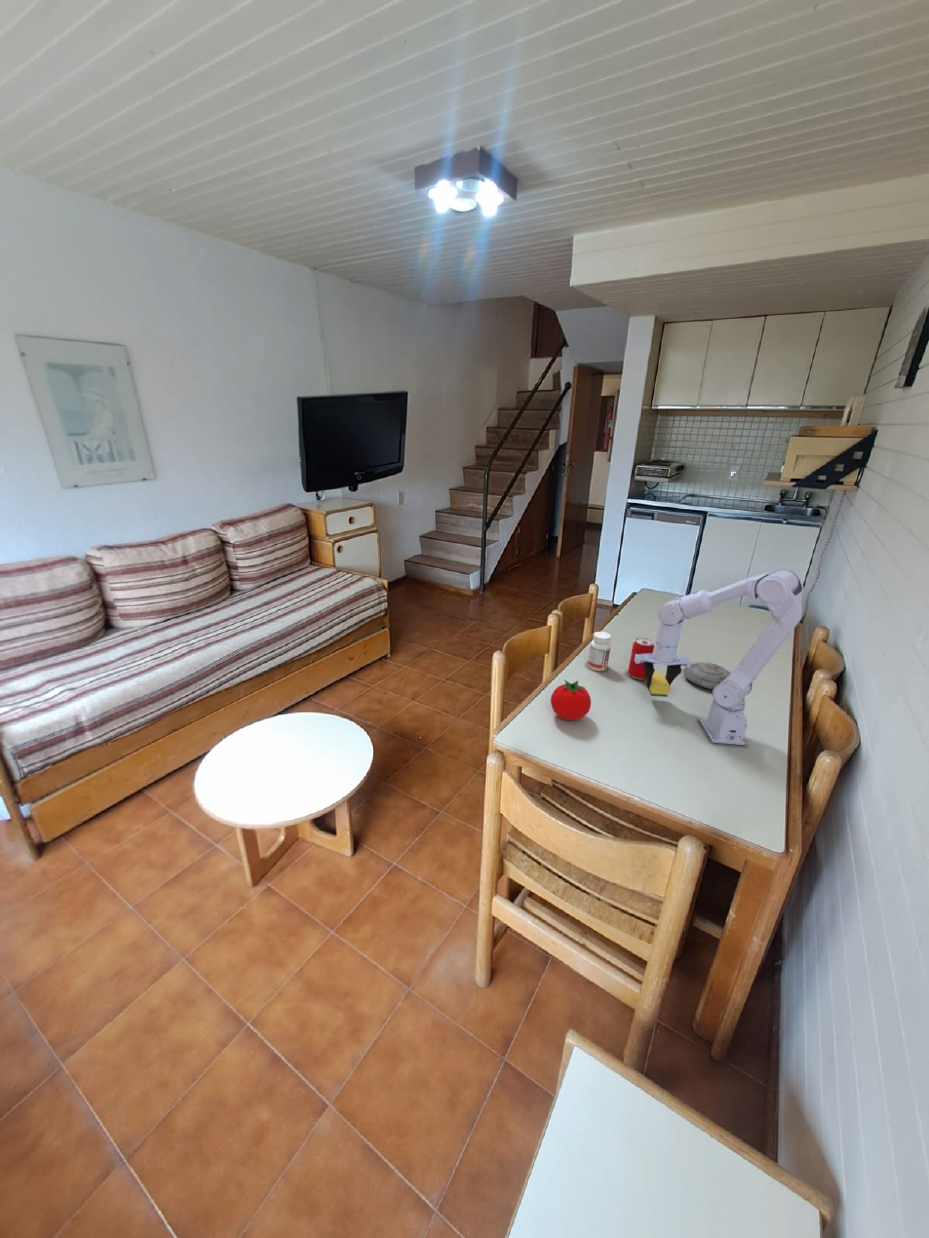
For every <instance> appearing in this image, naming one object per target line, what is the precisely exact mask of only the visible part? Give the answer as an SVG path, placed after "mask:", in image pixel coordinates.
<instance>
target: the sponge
mask: <svg viewBox="0 0 929 1238" xmlns="http://www.w3.org/2000/svg"><path fill="white" fill-rule="evenodd" d="M665 677H666V675H665V674H664V673H662V672H661V673H660V672H654V673H653V676H652V680H651V685H650V688H647V690H648V693H649V695H650V696H651V697H664V698H668V696H669V692H670V688H671V685H669V683H668V682H667V680H666V678H665ZM644 684H645V685H646V679H644Z"/></svg>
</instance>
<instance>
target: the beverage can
mask: <svg viewBox="0 0 929 1238" xmlns="http://www.w3.org/2000/svg"><path fill="white" fill-rule="evenodd" d="M654 645H655V643H654V641H653V640H652V639H650V638H647V637H636V638H635V640H634V641H633V643H632V648H631V653H630V657H629V663H628V669H627V673H628V675H629V676H630V677H632V678H633V679H635V680H646V678H645V671H644V667H643V664H642V663H639V664H637V663H635V660H634V659H635V654H649V653H653V650H654Z"/></svg>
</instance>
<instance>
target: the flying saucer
mask: <svg viewBox="0 0 929 1238" xmlns="http://www.w3.org/2000/svg"><path fill="white" fill-rule="evenodd" d="M731 673H732V672H730V670H727V669H726V668H724V667H723V666H721V665H719V664H716V663H712V662H704V661H702V662H701V661H699V662H694V663H693V662H692V663H691V666H690V667H686V666H685V667H684V668H683V669H682V674H683V676H684V677H685V678H686V679H687V680H688V681H689V682H691V683H693V684H695V685H697V686H699V687H702V688H705V689H710V690H713V689H714V688H715V687H716V686H717V685H719V684H720V683H721V682H722V681H724V680H725V679H726V678H727V676H728V675H730V674H731Z"/></svg>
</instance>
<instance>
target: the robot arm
mask: <svg viewBox="0 0 929 1238" xmlns="http://www.w3.org/2000/svg"><path fill="white" fill-rule="evenodd" d="M804 588H805V587H804V584H803V583H802V581H801V578H800V576H799V574H797V573H796V572H795V571H794V570H792V569H789V568H780V569H777V570H775V571H773V572H772V573H771V571H769V572H765V573H762V574H756V575H753V576H750V577H747V578H744V579H741V580H739V581H736V582H734V583H731V584H728V585H726V586H724V587H722V588H719V589H716V590H714V591H709V590H706V589H701V590H699V588H697V589H694V590H692V591H691V593H689V594H686V595H684V596H676V597H675V598H674V599H671V600H670V601H668V602H665V603H664V604H662V605H661V606H660V607H659V608H658V610H657V618H658V620H659V623H658V627H657V631H656V635H655V641H654V650H653V653H649V654H635V659H634V660H635V663H637V664H639V663H642V664H643V667H644V671H645V678H646V679H645V680H646V684H645V687H646V688H647V689H648V688H650V685H651V680H652V676H653V673H655V671H656V669H655V668H654V665H661V666H666V673H665V678H666V680H667V682H668V683H669V685H670V686H671V685H672V683H673V682H674V680H675V679H676V678H678V676H679V675H680V674H682V672H683V669H682V667H685V668H686V667H690V666H691V664H692V663H693V662H692V660H691V659H690V657H684V656H678V655H676V654H677V650H678V646H679V641H680V637H681V633H682V628H683V623H684V620H689V619H692V618H695V617H698V616H701V615H704V614H707V613H711V612H712V611H713V610H714V609H715V606H716V605H717V604H721V603H724V602H728V601H732V600H734V599H738V598H742V597H745V596H746V597H748V598H751V599H753V600H756V599H759V600H760V601H761V602H762V604H763V605H764V606H765V607H766V608H767V610H769V613H770V615H771V618H772V619H771V620H770V622H768V624H767V625H766V626H765V628H764V629H763V631H762V632H761V634H760V635H759V636H758V637H757V639H756V640H755V642H754V643H753V644H752V645H751V647H750V648H749V650H748V651H747V652H746V653H745V655H744V656H743V657H742V659H740V660H741V661H740V662H739V663H738V664H737V666H736V667H735V668H734V670H733V671H732V672H730V673H731V674H730V675H728V676H727V678H726V679H725V680H724V681H722V682H721V683H720V684H719V685H717V686H716V687H715V688H714V689H712V702H711V705H710V706H711V707H710V709H709V712H708V717H707V719H700V721H699V722H700V725H701V726H702V727H703V729H704V731H705V732H706V734H707V736H708V738H709V739H710V741H711V742H712V743H714V744H725V745H726V744H727V745H736V746H737V745H738V746H746V742H745V741H744V738H745V734H746V730H747V727H748V720H747V718H746V715H745V708H746V704H747V703H746V700H745V697H746V696H747V695H749V694H750V693H751V692H752V689H753V683H754V681H755V680H756V679H757V676H758V675H759V674H760V672H761V671H763V669H764V667H765V666H766V665H767V663H768V662H769V661H770V660H771V658H772V657H773V656H774V654H776V652H777V651H778V649H779V648H780V647H781V646H782V645H783V643H784V642H785V641H786V640H787V638H788V637H789V636H790V634H791V633H792V632H793V630H795V628H796V627H797V625H798V624H799V623H800V622H801V620H802V617H803V593H804V590H805V589H804Z"/></svg>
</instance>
